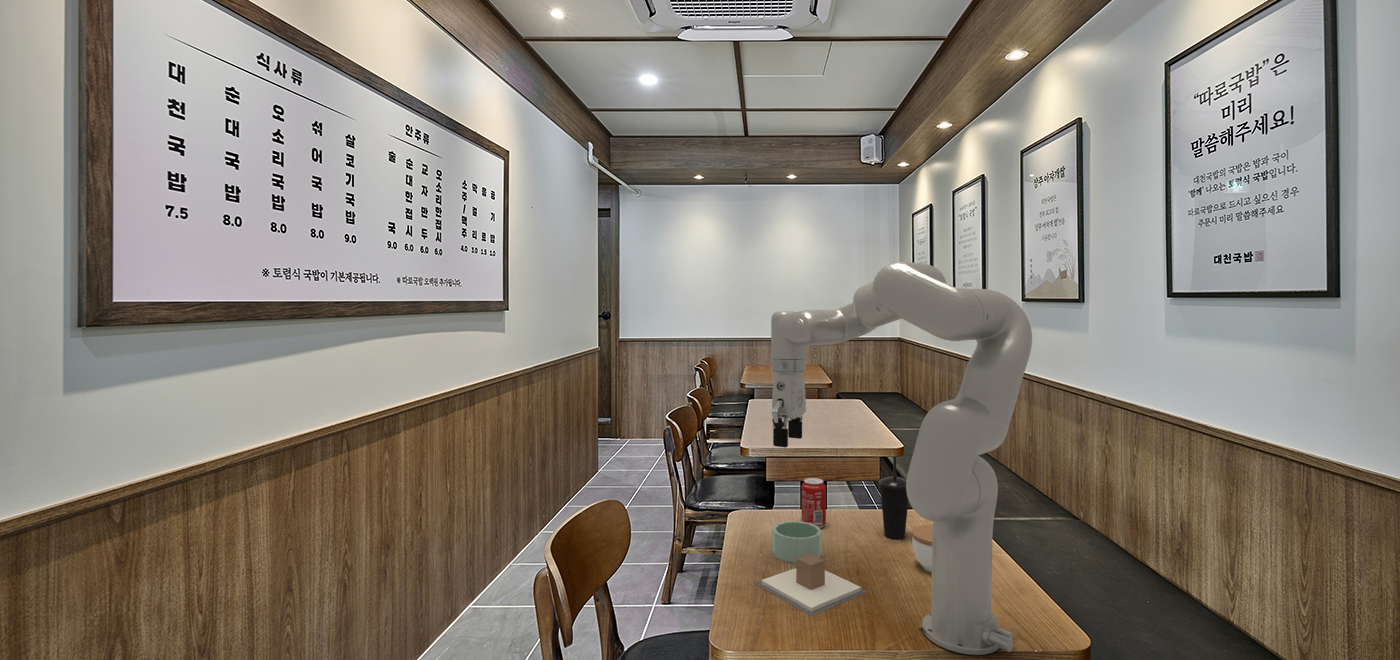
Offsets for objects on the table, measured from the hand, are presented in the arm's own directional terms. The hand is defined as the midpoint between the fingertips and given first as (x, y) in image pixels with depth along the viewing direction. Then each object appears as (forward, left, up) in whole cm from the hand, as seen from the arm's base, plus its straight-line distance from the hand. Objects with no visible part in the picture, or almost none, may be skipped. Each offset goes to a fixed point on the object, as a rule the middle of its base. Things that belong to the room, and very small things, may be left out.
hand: (788, 442), depth 133 cm
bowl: (+1, -4, -27) cm, 27 cm away
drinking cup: (-5, -32, -27) cm, 42 cm away
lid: (-13, +6, -26) cm, 30 cm away
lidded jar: (-22, -24, -27) cm, 42 cm away
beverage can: (+12, -21, -27) cm, 36 cm away
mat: (-13, +6, -27) cm, 31 cm away
